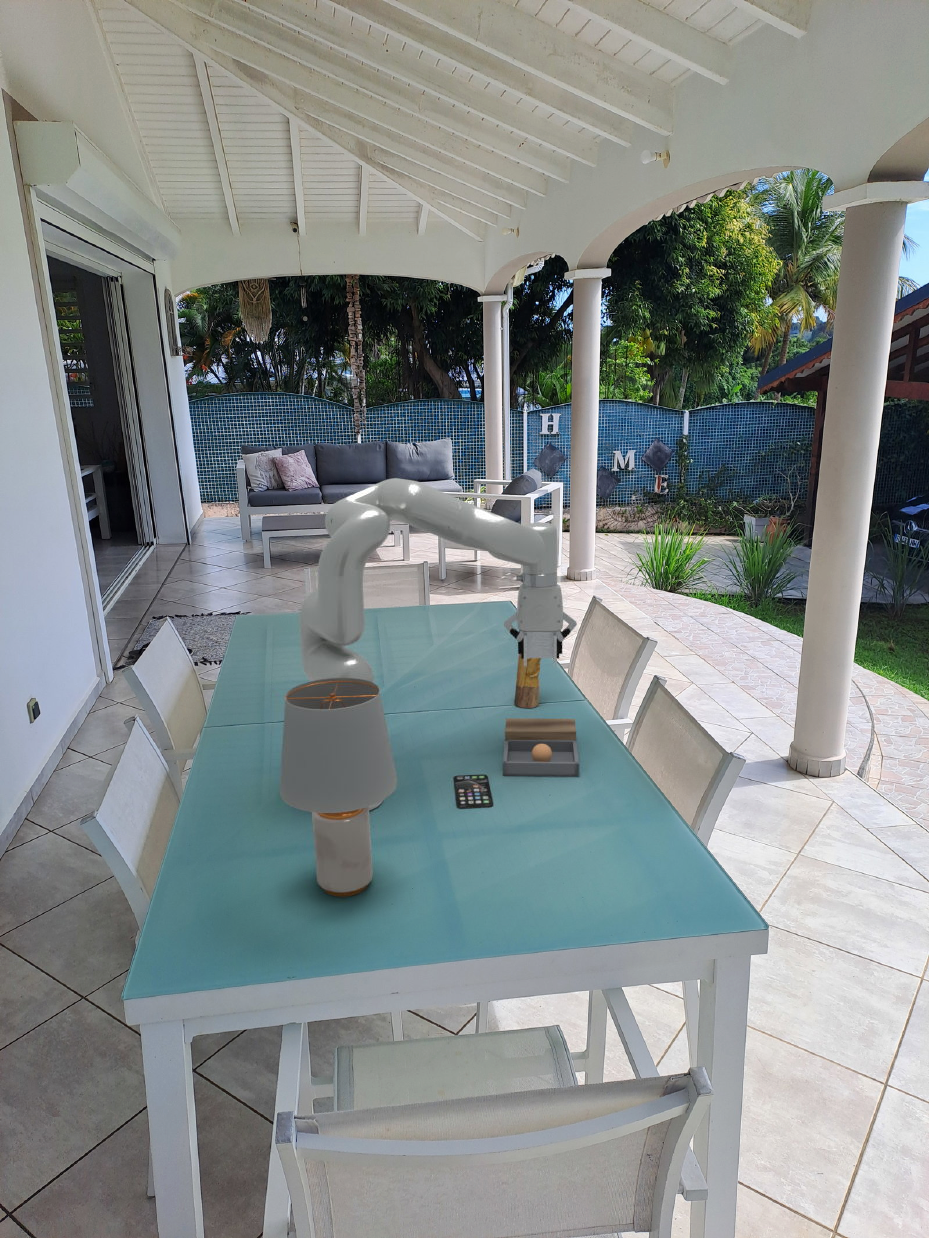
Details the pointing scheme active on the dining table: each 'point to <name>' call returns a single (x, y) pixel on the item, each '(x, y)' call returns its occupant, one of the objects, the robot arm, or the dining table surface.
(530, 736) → the ledge
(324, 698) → the lamp
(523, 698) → the sculpture
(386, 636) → the dining table surface
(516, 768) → the tray
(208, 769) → the dining table surface
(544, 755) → the ball
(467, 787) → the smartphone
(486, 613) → the dining table surface
